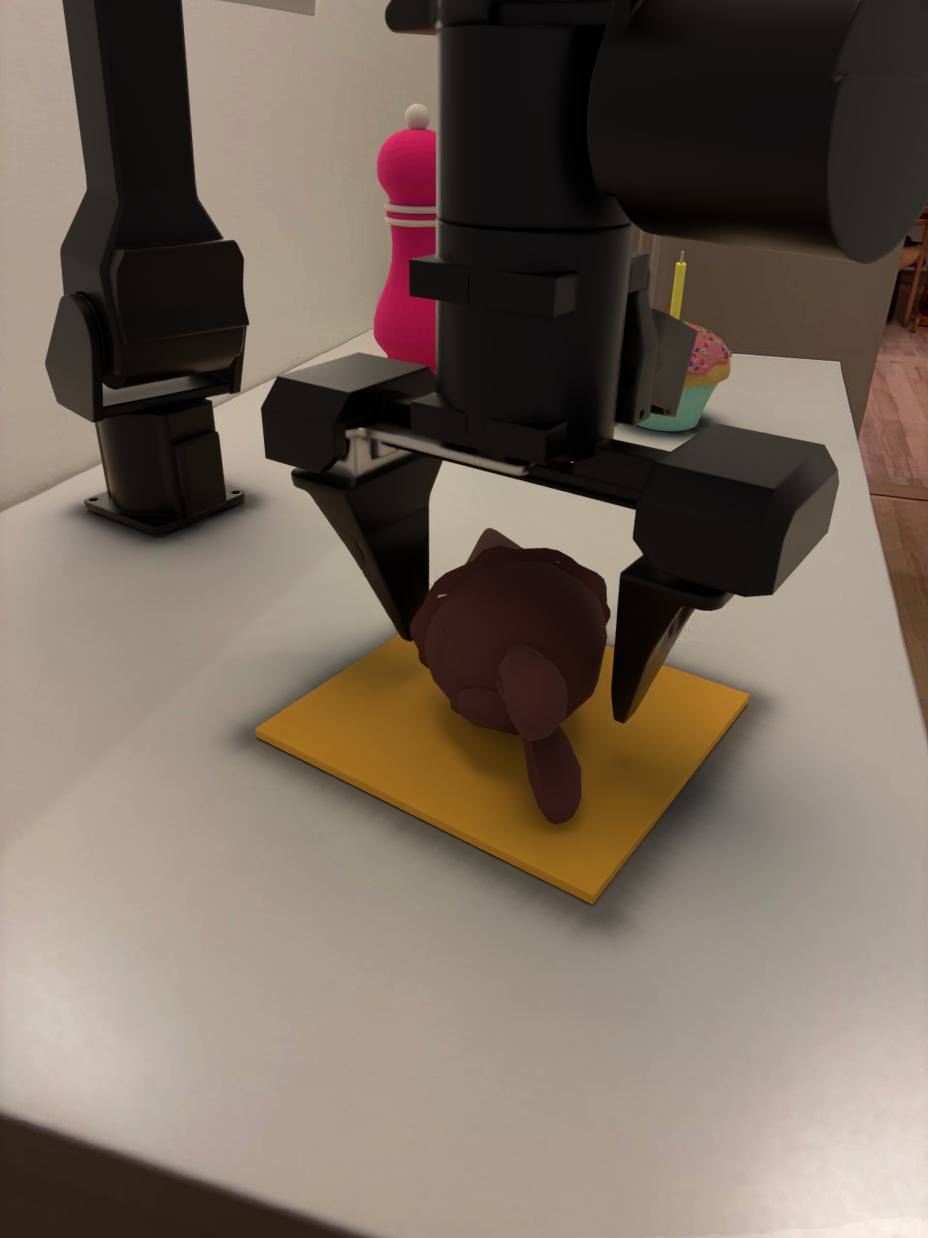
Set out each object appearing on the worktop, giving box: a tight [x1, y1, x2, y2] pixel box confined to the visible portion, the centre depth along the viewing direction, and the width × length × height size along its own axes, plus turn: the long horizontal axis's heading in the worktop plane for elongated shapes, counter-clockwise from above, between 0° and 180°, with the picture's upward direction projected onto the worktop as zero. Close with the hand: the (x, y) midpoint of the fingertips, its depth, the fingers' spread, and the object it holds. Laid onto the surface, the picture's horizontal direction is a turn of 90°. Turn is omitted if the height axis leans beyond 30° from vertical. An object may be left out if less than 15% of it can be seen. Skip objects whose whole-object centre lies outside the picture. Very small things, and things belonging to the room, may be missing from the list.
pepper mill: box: [372, 103, 437, 375], centre depth 71 cm, size 7×7×20 cm
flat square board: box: [254, 634, 750, 905], centre depth 36 cm, size 14×13×1 cm
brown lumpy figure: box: [410, 527, 612, 825], centre depth 34 cm, size 7×7×15 cm
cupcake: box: [636, 250, 733, 432], centre depth 65 cm, size 9×8×12 cm
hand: (512, 674), depth 35 cm, fingers open, 9 cm apart
